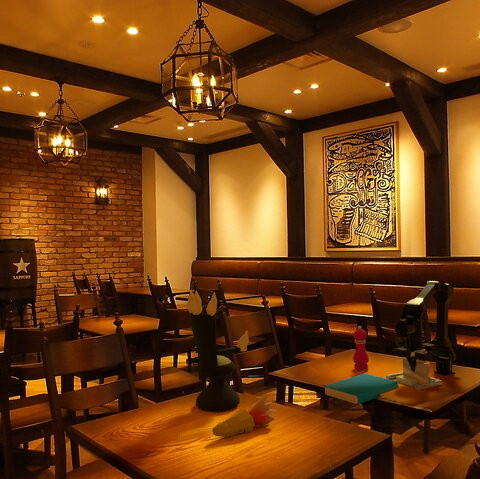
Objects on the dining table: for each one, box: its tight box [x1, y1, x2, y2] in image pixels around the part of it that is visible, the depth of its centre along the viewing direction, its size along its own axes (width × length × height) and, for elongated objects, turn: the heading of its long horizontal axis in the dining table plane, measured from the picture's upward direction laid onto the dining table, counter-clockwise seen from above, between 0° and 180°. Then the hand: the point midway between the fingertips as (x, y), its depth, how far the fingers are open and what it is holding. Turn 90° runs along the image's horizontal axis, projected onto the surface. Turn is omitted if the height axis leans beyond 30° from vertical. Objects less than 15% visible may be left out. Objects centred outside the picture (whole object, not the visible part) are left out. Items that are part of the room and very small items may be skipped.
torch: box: [211, 394, 277, 438], centre depth 158 cm, size 8×8×25 cm
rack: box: [385, 371, 443, 391], centre depth 199 cm, size 13×17×3 cm
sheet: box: [402, 357, 431, 384], centre depth 200 cm, size 3×12×10 cm, turn 25°
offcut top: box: [395, 375, 418, 387], centre depth 198 cm, size 3×8×2 cm, turn 28°
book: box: [324, 372, 400, 405], centre depth 193 cm, size 17×4×25 cm
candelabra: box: [186, 289, 250, 413], centre depth 181 cm, size 19×22×45 cm
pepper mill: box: [352, 325, 370, 371], centre depth 227 cm, size 7×7×20 cm
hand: (416, 370), depth 200 cm, fingers closed on sheet, 3 cm apart
